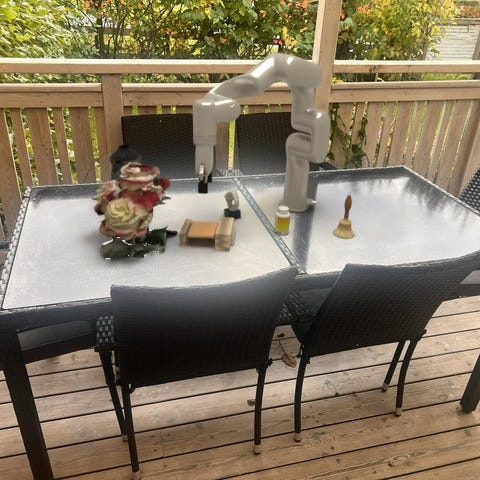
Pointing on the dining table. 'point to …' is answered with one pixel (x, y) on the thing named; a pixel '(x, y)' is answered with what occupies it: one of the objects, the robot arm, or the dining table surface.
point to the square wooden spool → (220, 237)
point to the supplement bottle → (282, 220)
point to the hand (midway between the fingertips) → (205, 187)
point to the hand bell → (345, 222)
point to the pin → (231, 236)
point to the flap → (202, 229)
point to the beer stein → (122, 160)
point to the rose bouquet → (132, 212)
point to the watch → (232, 205)
